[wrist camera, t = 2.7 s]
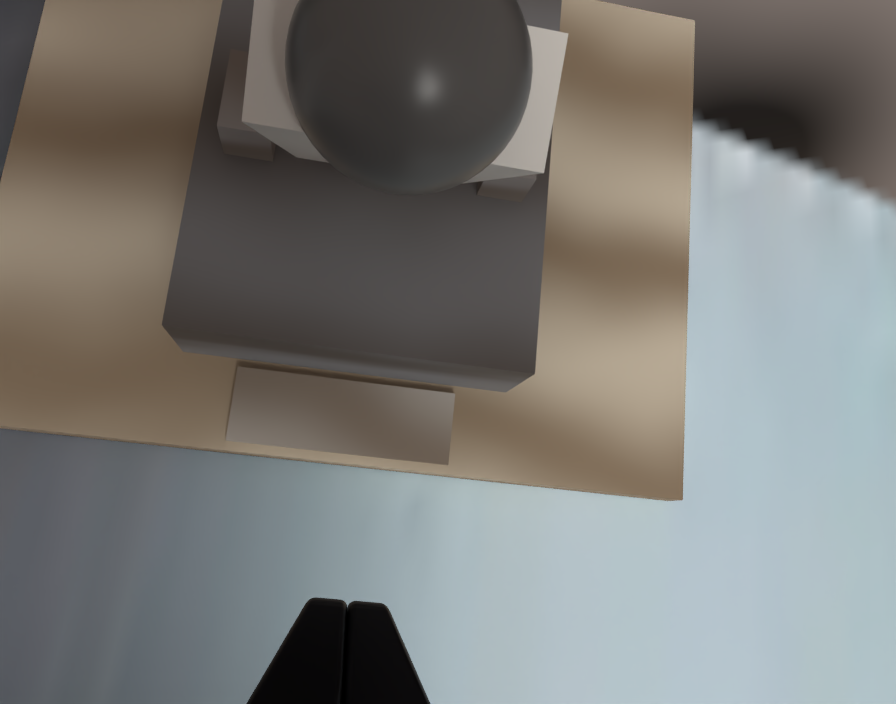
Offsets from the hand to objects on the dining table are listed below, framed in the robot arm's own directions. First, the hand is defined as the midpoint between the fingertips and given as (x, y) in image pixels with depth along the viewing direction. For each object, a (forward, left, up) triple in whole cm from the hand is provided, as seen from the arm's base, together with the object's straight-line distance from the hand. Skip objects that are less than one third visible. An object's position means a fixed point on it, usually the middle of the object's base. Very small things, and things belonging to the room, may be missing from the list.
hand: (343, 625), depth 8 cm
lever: (+6, +9, -9) cm, 14 cm away
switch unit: (+6, +9, -13) cm, 17 cm away
